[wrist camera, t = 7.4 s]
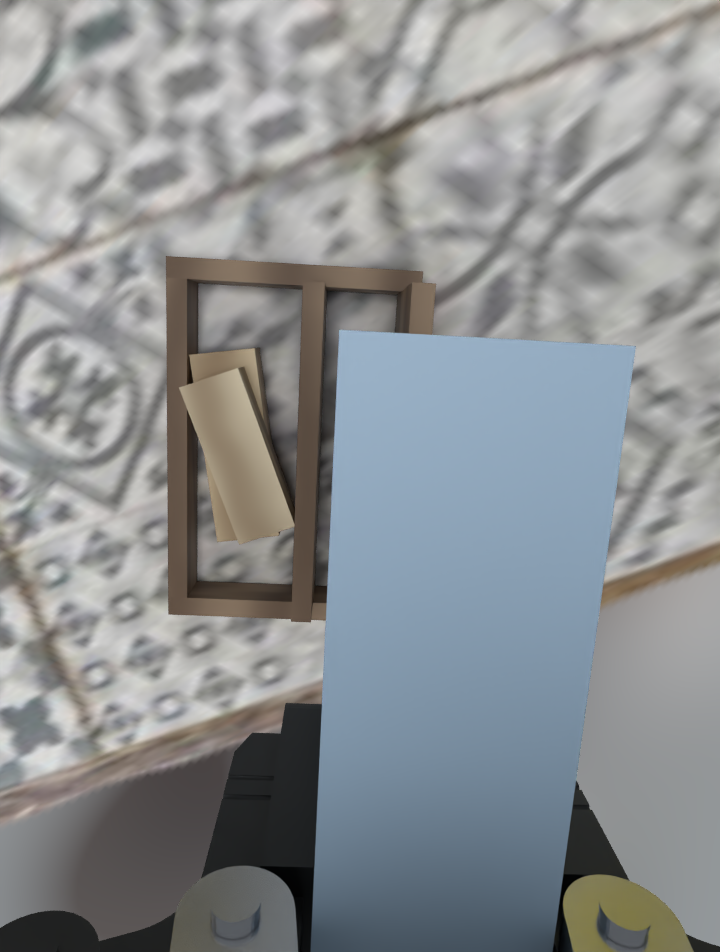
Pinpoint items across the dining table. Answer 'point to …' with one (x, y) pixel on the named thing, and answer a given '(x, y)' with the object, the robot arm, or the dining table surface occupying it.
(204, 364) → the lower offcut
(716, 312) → the dining table surface
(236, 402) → the upper offcut
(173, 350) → the rack
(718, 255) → the dining table surface
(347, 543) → the tall panel
